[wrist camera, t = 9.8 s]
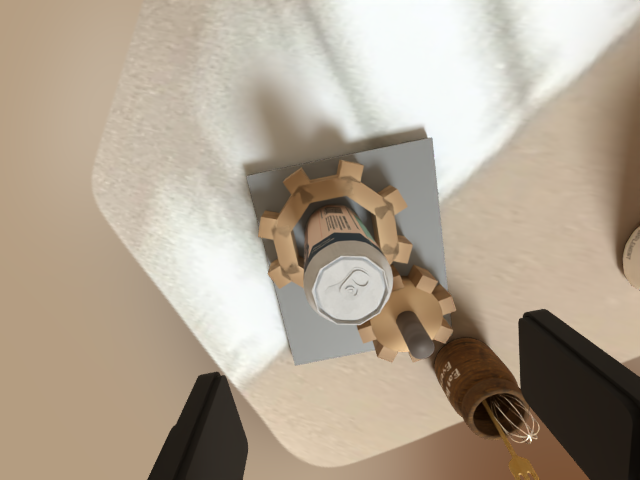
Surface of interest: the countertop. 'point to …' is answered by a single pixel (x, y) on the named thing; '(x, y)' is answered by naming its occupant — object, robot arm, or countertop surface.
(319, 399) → the countertop surface
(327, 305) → the beer can
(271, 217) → the oak gear
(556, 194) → the countertop surface
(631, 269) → the supplement can
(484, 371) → the utensil holder
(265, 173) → the gear board
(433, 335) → the small gear
